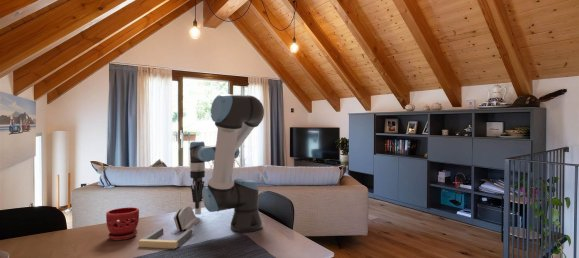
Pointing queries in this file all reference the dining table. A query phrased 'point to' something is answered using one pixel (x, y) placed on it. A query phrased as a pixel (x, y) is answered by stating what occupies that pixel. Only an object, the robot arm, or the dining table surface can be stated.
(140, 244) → the bracket
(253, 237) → the dining table surface
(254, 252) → the dining table surface
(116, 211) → the plant pot
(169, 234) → the dining table surface
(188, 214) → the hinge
